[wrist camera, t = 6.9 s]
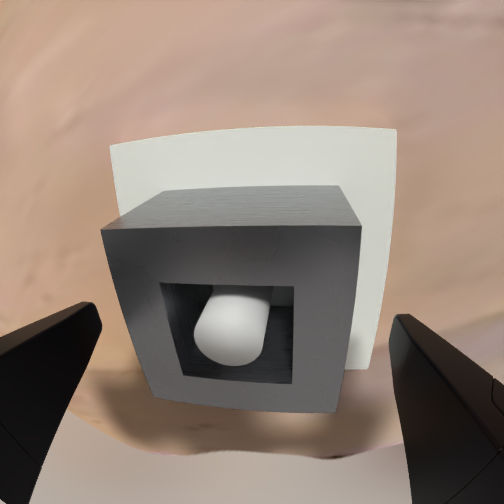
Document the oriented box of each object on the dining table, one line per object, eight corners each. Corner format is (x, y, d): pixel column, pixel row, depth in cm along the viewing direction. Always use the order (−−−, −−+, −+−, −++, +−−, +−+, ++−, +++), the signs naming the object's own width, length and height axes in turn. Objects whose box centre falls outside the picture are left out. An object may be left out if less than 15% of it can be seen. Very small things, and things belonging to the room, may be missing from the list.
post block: (388, 128, 9) (452, 137, 5) (365, 354, 13) (379, 441, 9) (123, 142, 11) (33, 165, 6) (164, 345, 15) (123, 418, 10)
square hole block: (338, 185, 10) (361, 225, 6) (330, 334, 12) (335, 412, 8) (163, 190, 11) (100, 229, 7) (188, 328, 13) (153, 397, 9)
